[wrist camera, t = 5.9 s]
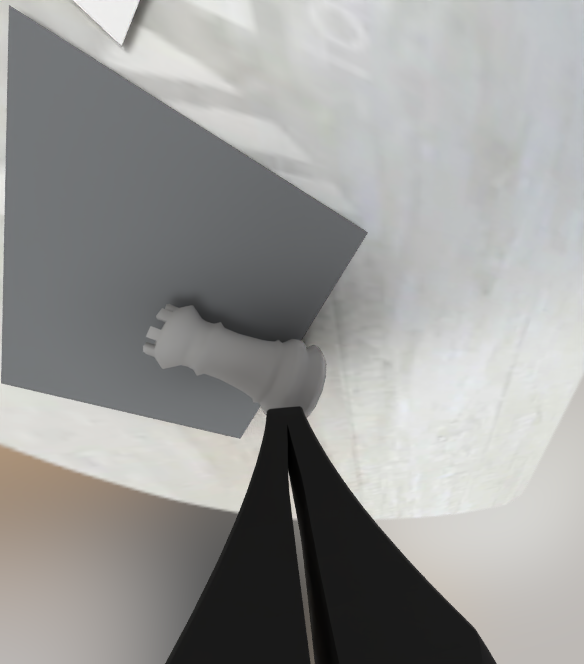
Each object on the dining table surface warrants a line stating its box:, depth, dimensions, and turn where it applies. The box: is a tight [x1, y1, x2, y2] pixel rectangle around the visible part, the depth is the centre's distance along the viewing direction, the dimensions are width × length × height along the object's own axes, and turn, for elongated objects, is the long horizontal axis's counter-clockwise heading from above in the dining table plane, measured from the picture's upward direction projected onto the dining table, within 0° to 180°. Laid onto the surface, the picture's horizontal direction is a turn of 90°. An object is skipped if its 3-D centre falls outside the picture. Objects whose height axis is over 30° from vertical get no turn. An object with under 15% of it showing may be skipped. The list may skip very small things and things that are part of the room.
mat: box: [1, 5, 368, 438], centre depth 13 cm, size 14×16×1 cm
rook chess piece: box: [143, 304, 326, 418], centre depth 12 cm, size 4×4×8 cm
